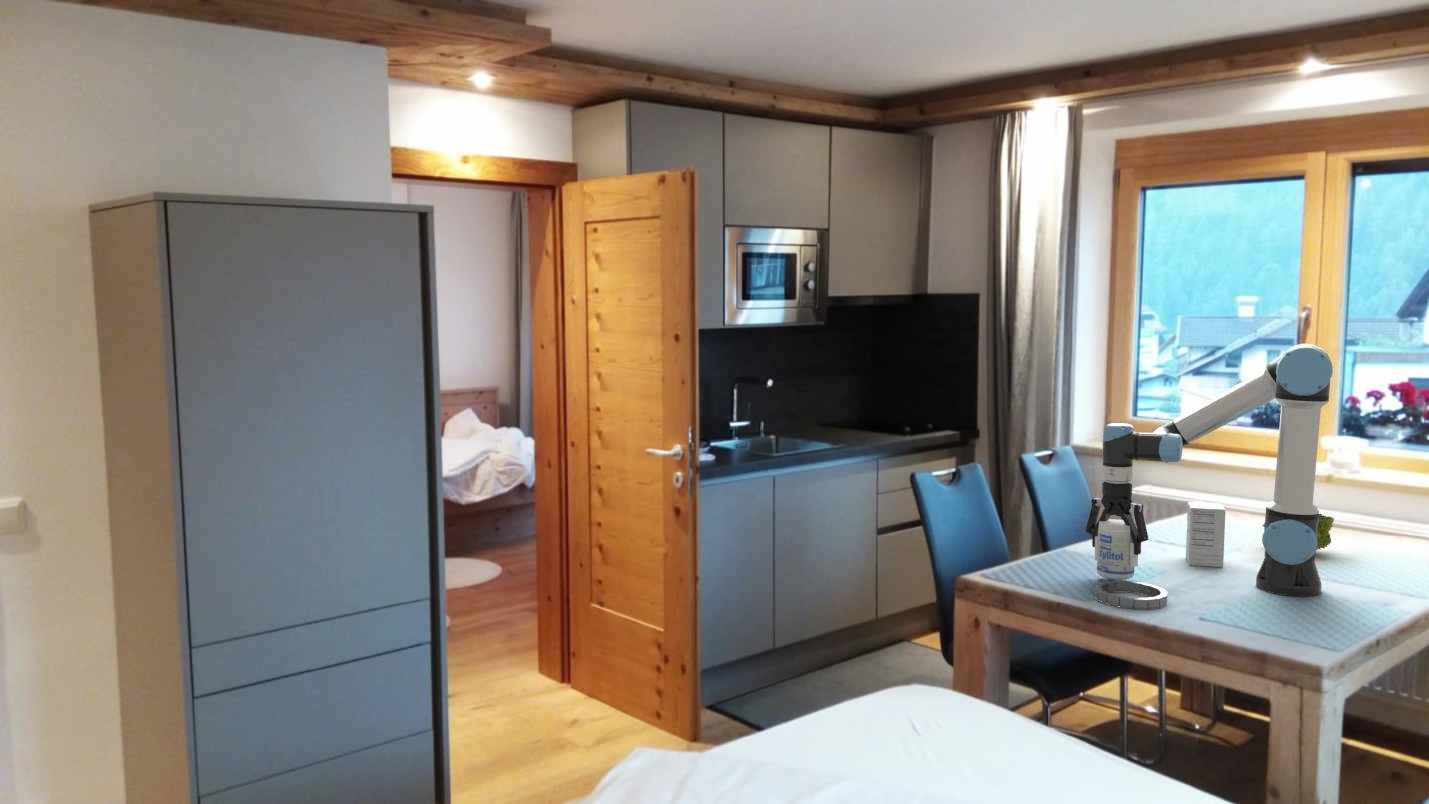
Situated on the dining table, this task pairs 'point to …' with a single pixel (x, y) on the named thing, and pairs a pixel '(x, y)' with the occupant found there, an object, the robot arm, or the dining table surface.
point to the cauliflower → (1323, 531)
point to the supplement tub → (1114, 550)
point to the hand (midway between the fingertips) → (1115, 562)
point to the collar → (1134, 603)
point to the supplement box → (1205, 534)
